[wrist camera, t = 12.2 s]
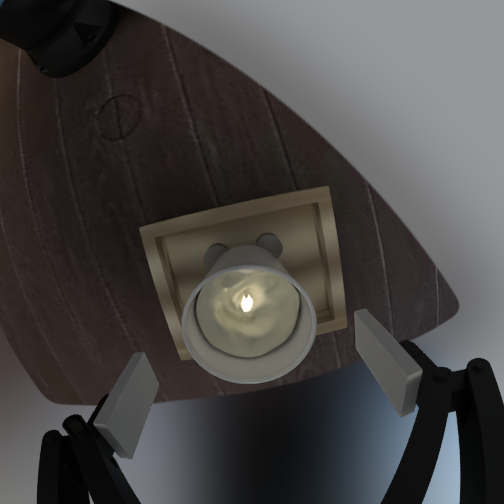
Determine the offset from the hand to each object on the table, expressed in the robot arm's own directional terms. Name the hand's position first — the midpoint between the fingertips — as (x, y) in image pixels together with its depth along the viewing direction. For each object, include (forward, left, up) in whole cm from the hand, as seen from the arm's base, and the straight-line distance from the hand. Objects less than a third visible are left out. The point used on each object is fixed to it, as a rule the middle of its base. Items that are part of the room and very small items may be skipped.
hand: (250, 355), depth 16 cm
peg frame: (0, 0, -19) cm, 19 cm away
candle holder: (0, 0, -16) cm, 16 cm away
